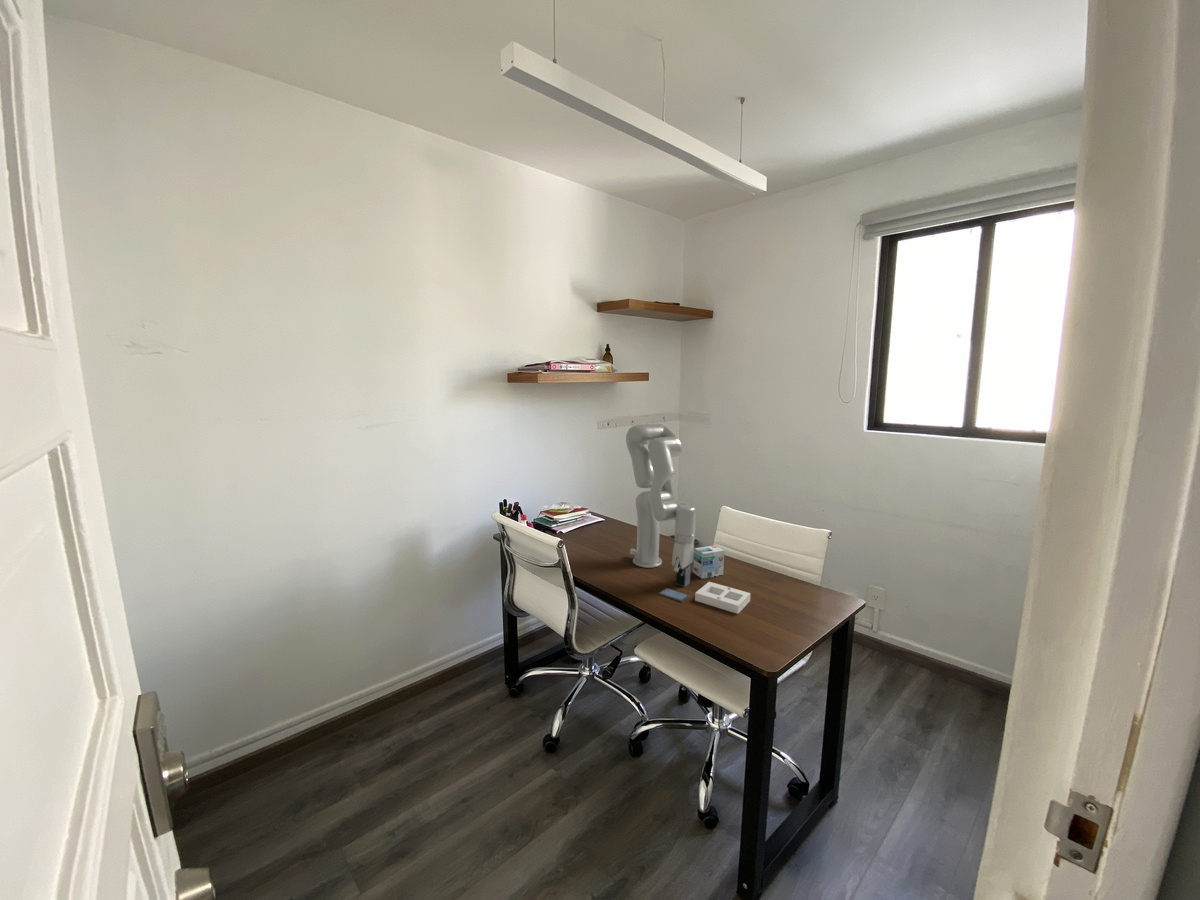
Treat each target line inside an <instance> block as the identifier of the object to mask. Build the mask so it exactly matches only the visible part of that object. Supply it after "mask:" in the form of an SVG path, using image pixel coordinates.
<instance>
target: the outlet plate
mask: <svg viewBox="0 0 1200 900" xmlns="http://www.w3.org/2000/svg"><path fill="white" fill-rule="evenodd" d="M694 601H695V602H698V603H702V604H705V605H708V606H711V607H715V608H718V609H721V610H724V611H727V612H731V613H733V614H739V613H740V612H742V610H743V609H744V608H745V607H747V605H749V603H750V602H751V592H747V591H744V590H741V589H736V588H733V587H730V586H727V585H722V584H719V583H715V582H711V581H708V582H707V583H705V584H704V585H703V586H702V587H701V588H699V589H698V590H697V591H696V592H695V594H694Z"/></svg>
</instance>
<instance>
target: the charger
mask: <svg viewBox="0 0 1200 900" xmlns="http://www.w3.org/2000/svg"><path fill="white" fill-rule="evenodd" d="M679 566H680V565H679ZM680 567H681V566H680ZM690 568H691V566H687V567H685V568H684V585H679V584H676V585H677V586H681V587H684V588H686V587H687V586H689V585H690V583H691V570H690ZM679 570H682V569H679Z"/></svg>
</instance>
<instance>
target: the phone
mask: <svg viewBox="0 0 1200 900" xmlns="http://www.w3.org/2000/svg"><path fill="white" fill-rule="evenodd" d="M657 594H658V595H659V596H662V597H665V598H668V599H671V600H674V601H676V602H679V603H683V602H684V601H686V600H687V599H689V598H691V595H689V594H686V593H684V592H680V591H678V590H674V589H672V588H668V587H666V588H664V589H663V590H660V591H659V592H658V593H657Z"/></svg>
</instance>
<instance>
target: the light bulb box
mask: <svg viewBox="0 0 1200 900" xmlns="http://www.w3.org/2000/svg"><path fill="white" fill-rule="evenodd" d="M724 564H725V549H722V548H721V547H719V546H717V545H715V544H714V545H709V546H702V547H694V559H693V571H692V572H693V574H694V575H696V576H698V577H699V578H701V579H708V578H709V577H710V578H715V577H714V576H716V577H720V576H719V575H723V576H724Z"/></svg>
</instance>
